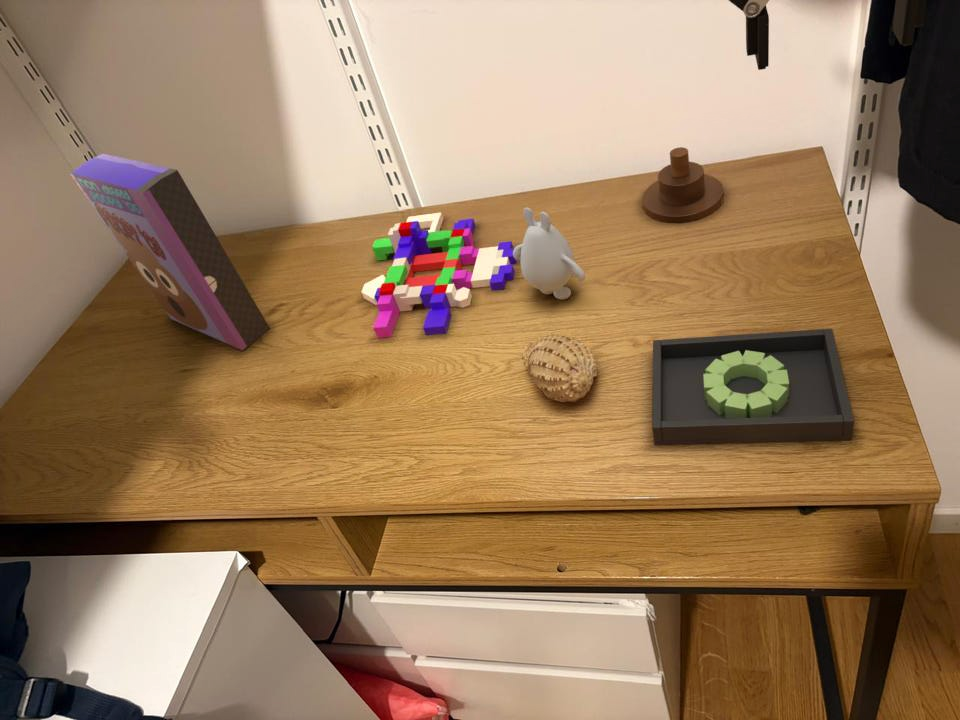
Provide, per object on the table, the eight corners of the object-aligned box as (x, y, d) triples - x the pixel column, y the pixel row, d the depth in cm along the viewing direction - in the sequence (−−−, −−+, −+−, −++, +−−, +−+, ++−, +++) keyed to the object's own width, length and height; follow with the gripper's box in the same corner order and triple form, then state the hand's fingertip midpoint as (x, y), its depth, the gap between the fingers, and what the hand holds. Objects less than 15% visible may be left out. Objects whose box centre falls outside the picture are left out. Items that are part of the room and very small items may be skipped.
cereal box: (171, 319, 106) (68, 172, 90) (197, 299, 108) (101, 151, 92) (243, 351, 96) (141, 191, 80) (269, 328, 98) (176, 168, 82)
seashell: (520, 410, 80) (582, 414, 72) (491, 366, 78) (551, 365, 70) (563, 364, 83) (627, 363, 75) (536, 322, 81) (598, 316, 73)
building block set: (502, 328, 86) (493, 298, 83) (343, 341, 92) (329, 314, 89) (527, 208, 104) (520, 180, 101) (392, 225, 109) (381, 199, 106)
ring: (783, 361, 71) (783, 347, 70) (792, 420, 66) (793, 407, 65) (703, 365, 74) (702, 352, 72) (706, 423, 68) (705, 410, 67)
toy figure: (606, 291, 86) (591, 204, 78) (574, 323, 84) (555, 236, 76) (537, 268, 93) (517, 185, 85) (505, 297, 90) (481, 214, 82)
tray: (830, 347, 72) (832, 328, 70) (851, 440, 64) (854, 421, 62) (655, 357, 77) (652, 339, 75) (654, 445, 69) (651, 427, 67)
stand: (721, 174, 98) (719, 125, 93) (725, 217, 91) (724, 167, 86) (643, 184, 101) (638, 137, 96) (642, 227, 94) (636, 178, 89)
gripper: (996, -285, 44) (948, 8, 56) (695, -203, 49) (707, 51, 61) (1041, -271, 39) (978, 50, 50) (699, -181, 44) (711, 92, 55)
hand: (830, 50), depth 55 cm, fingers open, 9 cm apart
